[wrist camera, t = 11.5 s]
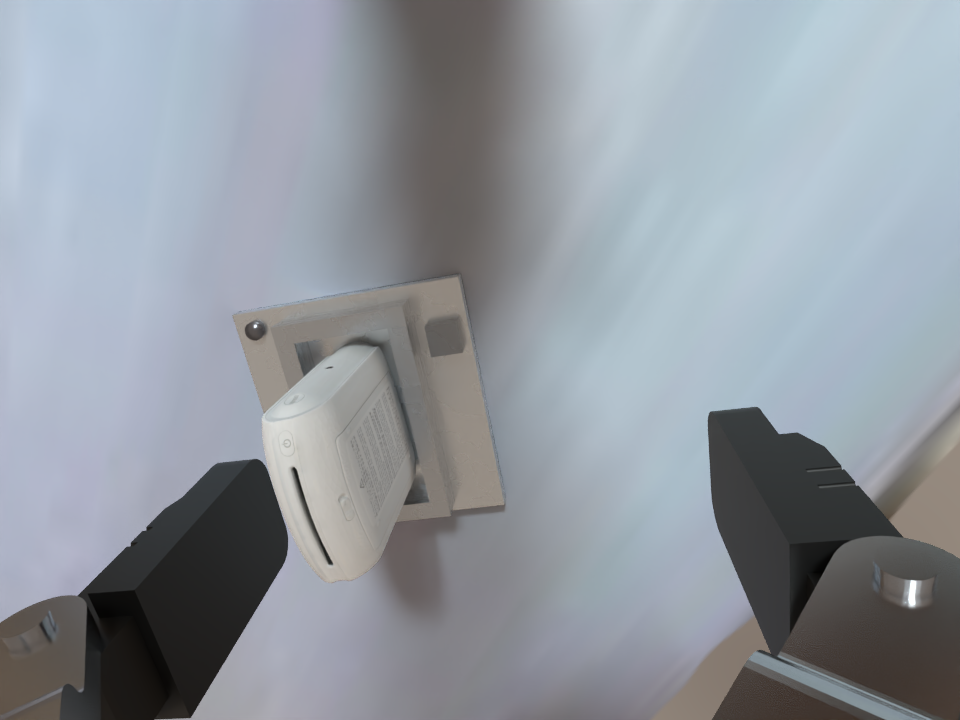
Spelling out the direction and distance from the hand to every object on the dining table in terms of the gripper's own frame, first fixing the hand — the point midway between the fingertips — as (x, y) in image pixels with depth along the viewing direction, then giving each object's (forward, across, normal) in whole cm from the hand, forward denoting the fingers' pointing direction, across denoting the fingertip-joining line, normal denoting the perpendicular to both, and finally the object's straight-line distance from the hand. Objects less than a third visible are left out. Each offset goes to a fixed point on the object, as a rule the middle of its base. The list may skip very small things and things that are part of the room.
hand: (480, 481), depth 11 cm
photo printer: (+27, +12, +10) cm, 31 cm away
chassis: (+28, +12, +10) cm, 32 cm away
